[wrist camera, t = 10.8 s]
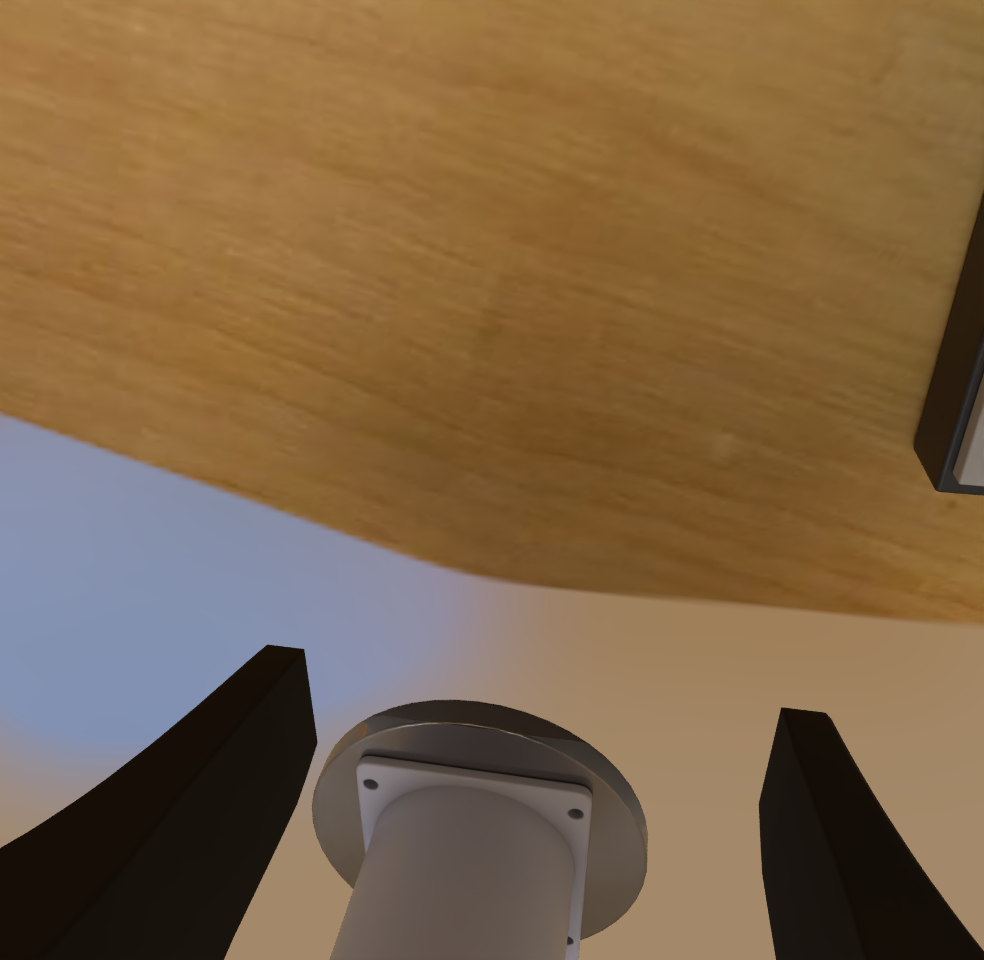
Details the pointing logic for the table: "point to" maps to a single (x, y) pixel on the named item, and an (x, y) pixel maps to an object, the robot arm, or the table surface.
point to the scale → (959, 388)
